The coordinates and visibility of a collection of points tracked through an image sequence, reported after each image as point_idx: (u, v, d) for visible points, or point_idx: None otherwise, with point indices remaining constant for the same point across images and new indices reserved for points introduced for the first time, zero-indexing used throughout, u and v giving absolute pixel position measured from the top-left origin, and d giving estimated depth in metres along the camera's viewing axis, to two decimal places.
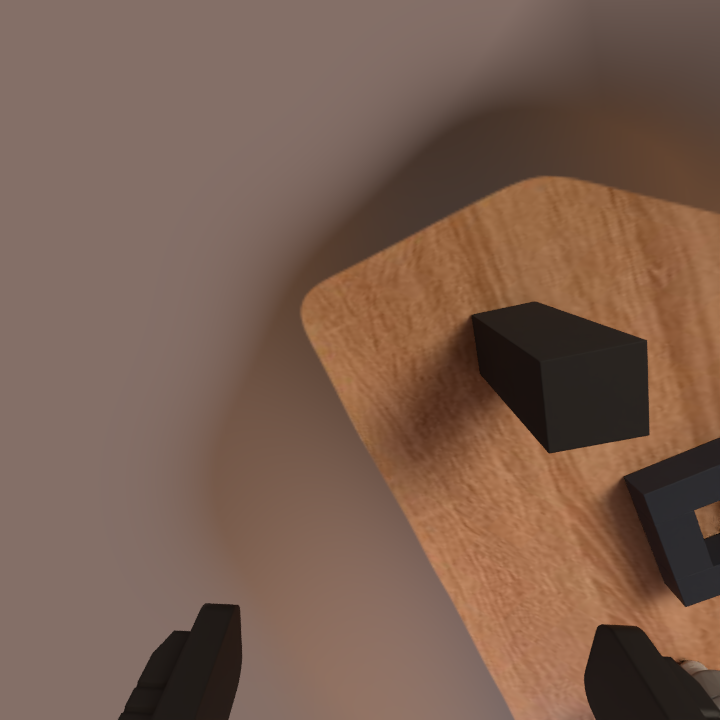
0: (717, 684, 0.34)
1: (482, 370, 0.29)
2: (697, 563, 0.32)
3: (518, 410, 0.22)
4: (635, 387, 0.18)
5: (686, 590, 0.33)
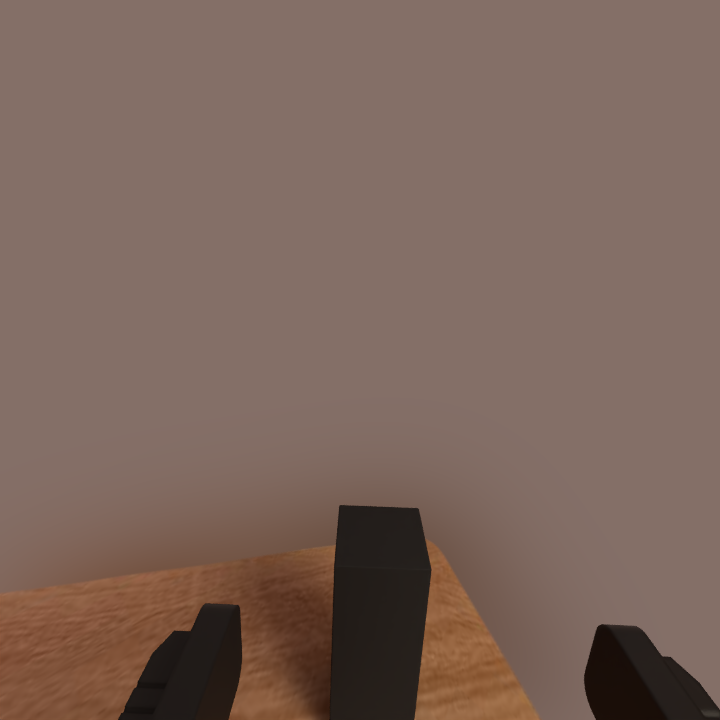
0: None
1: None
2: None
3: None
4: (386, 558, 0.20)
5: None
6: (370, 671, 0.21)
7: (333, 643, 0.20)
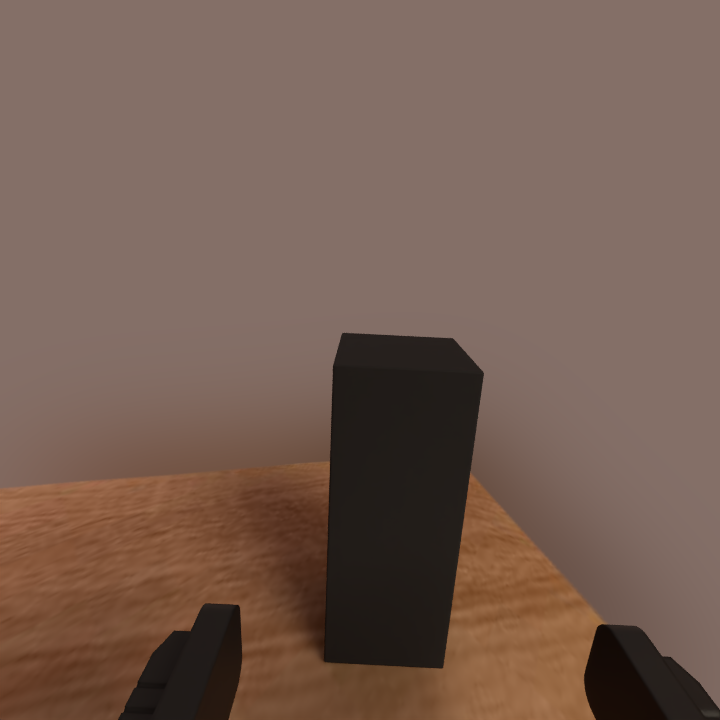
0: None
1: None
2: None
3: None
4: (413, 363, 0.13)
5: None
6: (385, 549, 0.14)
7: (331, 501, 0.14)
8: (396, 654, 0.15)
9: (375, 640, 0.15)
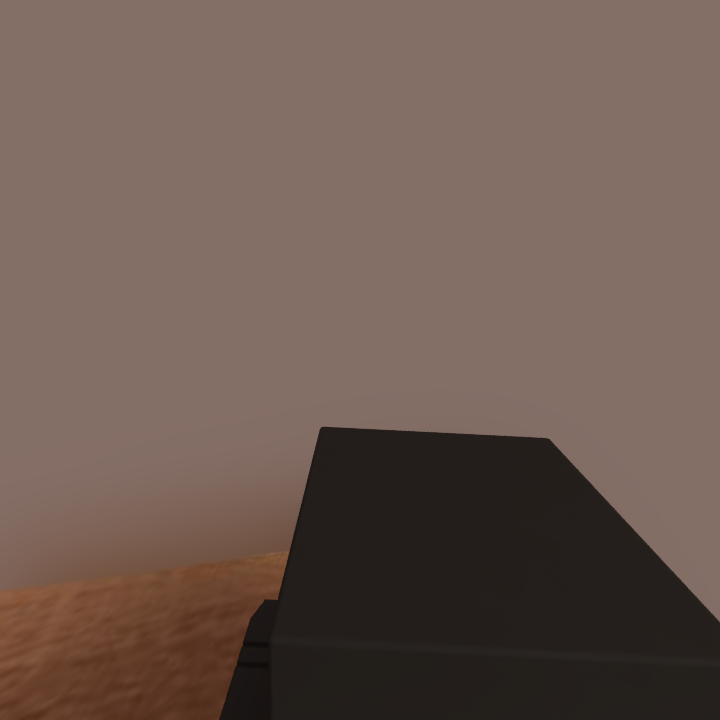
0: None
1: None
2: None
3: None
4: (517, 601, 0.04)
5: None
6: None
7: None
8: None
9: None
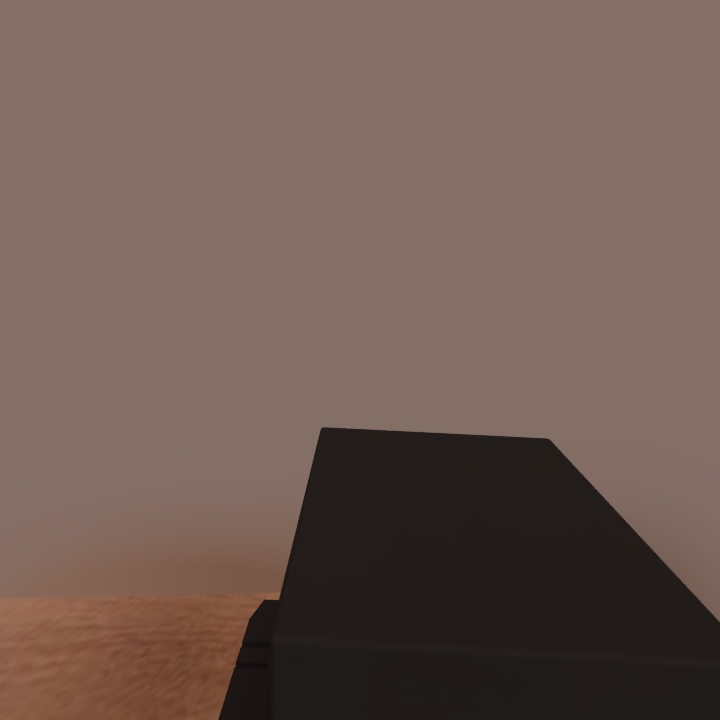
0: None
1: None
2: None
3: None
4: (517, 601, 0.04)
5: None
6: None
7: None
8: None
9: None
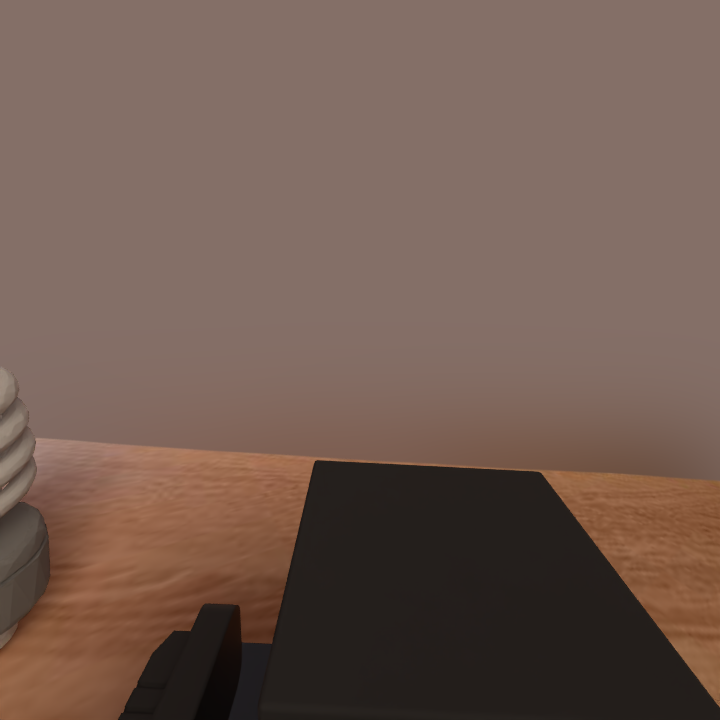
0: (16, 594, 0.14)
1: None
2: None
3: None
4: (502, 660, 0.04)
5: (265, 657, 0.14)
6: None
7: None
8: None
9: None
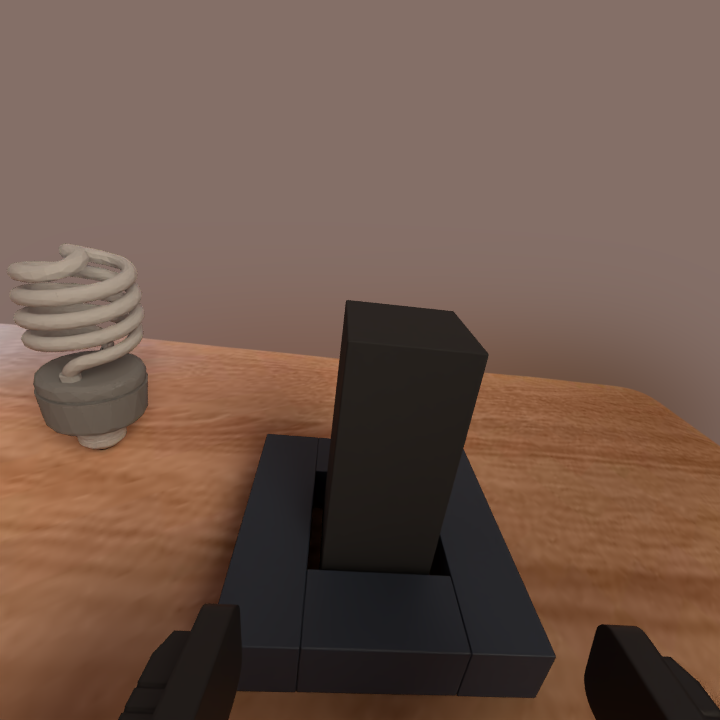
0: (137, 401, 0.23)
1: None
2: None
3: None
4: (423, 341, 0.13)
5: (295, 440, 0.23)
6: (381, 506, 0.16)
7: (335, 464, 0.15)
8: None
9: None
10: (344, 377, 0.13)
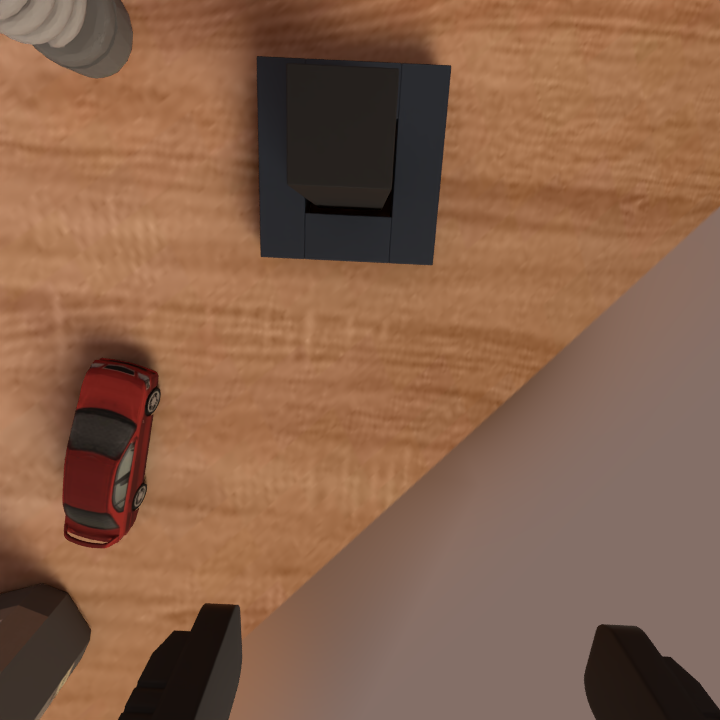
0: (123, 33, 0.23)
1: None
2: None
3: None
4: (344, 173, 0.18)
5: (284, 66, 0.25)
6: (341, 201, 0.24)
7: (304, 196, 0.22)
8: (355, 208, 0.29)
9: (343, 207, 0.28)
10: (292, 188, 0.19)
